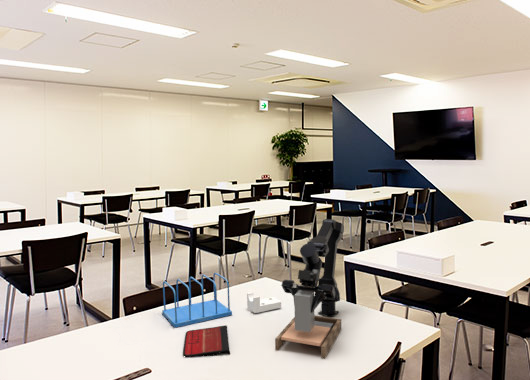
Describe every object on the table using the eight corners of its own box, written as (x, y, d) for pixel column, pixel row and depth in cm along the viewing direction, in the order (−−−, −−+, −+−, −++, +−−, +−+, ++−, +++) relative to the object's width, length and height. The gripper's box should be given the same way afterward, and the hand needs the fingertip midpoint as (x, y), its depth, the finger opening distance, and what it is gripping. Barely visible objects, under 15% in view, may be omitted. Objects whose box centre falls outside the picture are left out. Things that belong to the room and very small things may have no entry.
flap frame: (297, 322, 173) (297, 313, 173) (341, 329, 166) (341, 319, 166) (275, 349, 150) (275, 338, 150) (324, 358, 143) (324, 347, 143)
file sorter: (216, 303, 197) (215, 270, 195) (232, 315, 182) (231, 280, 180) (162, 314, 185) (160, 279, 183) (174, 328, 169) (173, 290, 168)
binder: (227, 324, 168) (229, 349, 147) (227, 330, 168) (230, 356, 147) (185, 329, 166) (182, 355, 145) (185, 334, 166) (182, 361, 145)
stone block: (299, 323, 155) (299, 290, 154) (314, 326, 153) (314, 291, 152) (294, 329, 150) (294, 295, 149) (309, 332, 148) (309, 296, 147)
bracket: (254, 315, 182) (254, 298, 181) (247, 310, 188) (247, 293, 188) (281, 309, 188) (281, 292, 187) (273, 304, 194) (273, 288, 194)
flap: (299, 325, 169) (299, 315, 168) (334, 331, 163) (334, 320, 163) (281, 348, 150) (281, 336, 150) (320, 354, 145) (320, 343, 145)
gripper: (282, 257, 157) (272, 297, 148) (333, 262, 149) (325, 304, 140) (290, 273, 165) (280, 311, 156) (338, 278, 157) (331, 318, 148)
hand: (303, 311), depth 150 cm, fingers closed on stone block, 5 cm apart
